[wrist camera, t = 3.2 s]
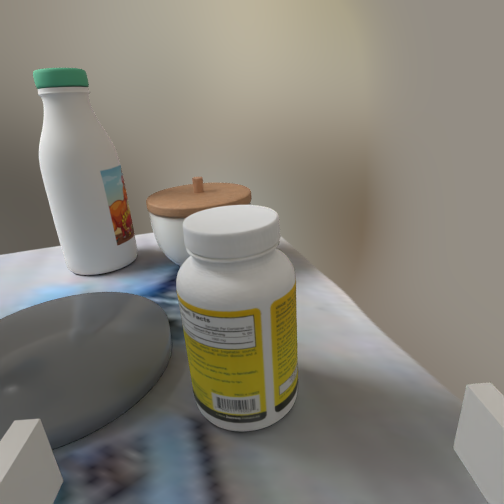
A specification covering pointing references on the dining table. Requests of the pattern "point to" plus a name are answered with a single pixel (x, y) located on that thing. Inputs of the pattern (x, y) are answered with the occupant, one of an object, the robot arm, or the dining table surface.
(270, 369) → the pill bottle
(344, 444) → the dining table surface
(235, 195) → the lidded jar
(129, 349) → the slate plate
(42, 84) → the milk bottle
